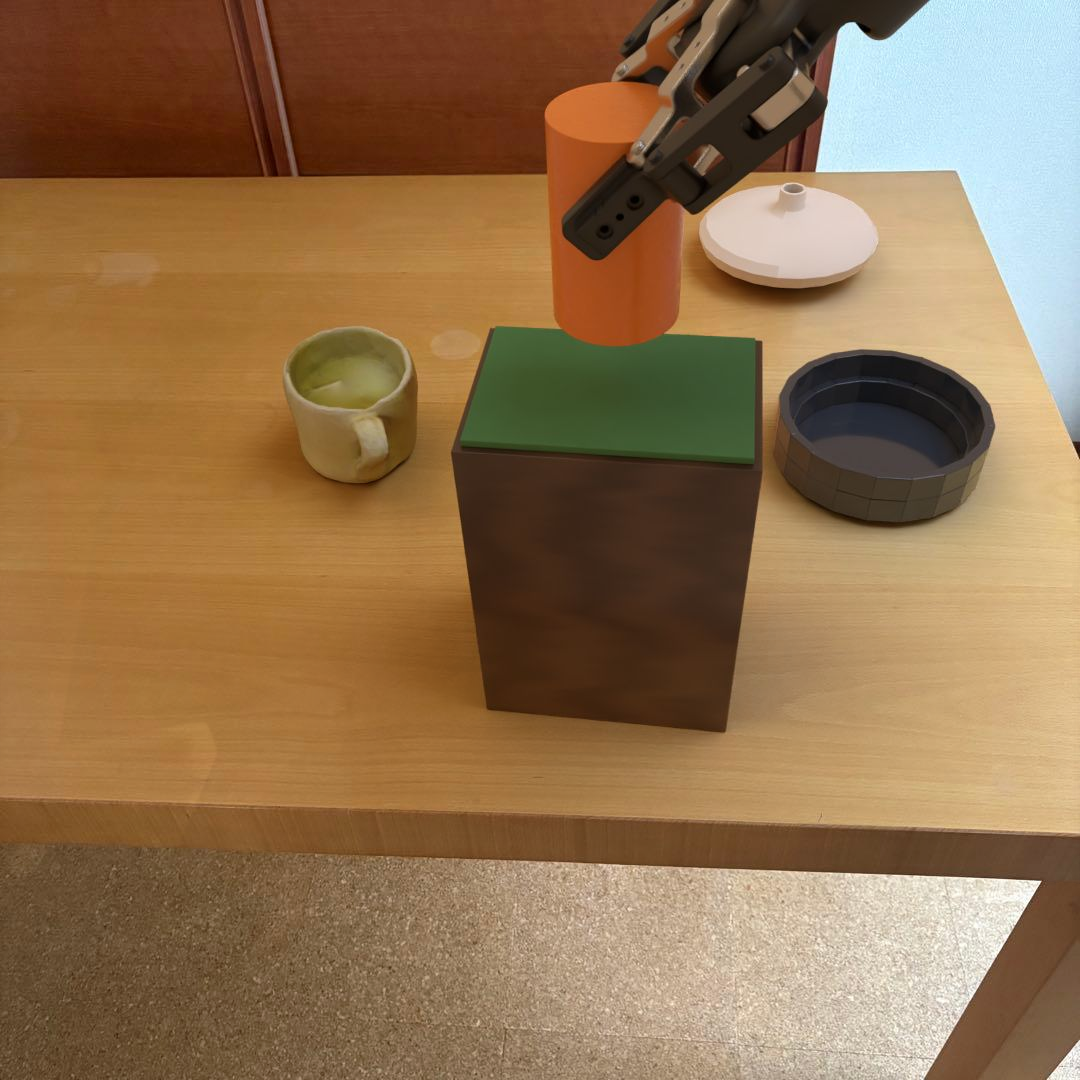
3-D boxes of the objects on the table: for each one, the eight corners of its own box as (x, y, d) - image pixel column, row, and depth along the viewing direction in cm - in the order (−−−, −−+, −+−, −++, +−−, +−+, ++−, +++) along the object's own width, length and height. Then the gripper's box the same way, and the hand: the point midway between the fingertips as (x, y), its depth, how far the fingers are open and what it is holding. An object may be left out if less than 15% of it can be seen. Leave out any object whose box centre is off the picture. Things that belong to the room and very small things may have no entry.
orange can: (682, 279, 48) (693, 81, 42) (675, 349, 44) (686, 143, 38) (562, 274, 49) (555, 80, 42) (545, 343, 45) (534, 141, 39)
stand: (729, 602, 67) (762, 340, 52) (725, 732, 60) (763, 471, 45) (514, 584, 68) (489, 327, 54) (486, 709, 62) (450, 451, 47)
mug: (274, 394, 81) (287, 300, 73) (403, 408, 84) (430, 319, 76) (271, 523, 74) (286, 433, 67) (412, 532, 77) (442, 448, 70)
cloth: (754, 344, 52) (755, 337, 52) (753, 465, 46) (754, 457, 45) (496, 332, 54) (495, 325, 54) (460, 446, 48) (459, 439, 47)
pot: (963, 403, 80) (978, 354, 76) (992, 535, 70) (1010, 485, 66) (771, 392, 81) (778, 344, 78) (773, 520, 72) (780, 471, 68)
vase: (768, 329, 88) (778, 254, 83) (663, 249, 97) (666, 177, 92) (910, 274, 93) (928, 200, 88) (796, 203, 102) (806, 132, 97)
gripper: (810, -283, 37) (503, 75, 46) (925, -199, 27) (504, 239, 36) (926, -122, 41) (622, 181, 50) (1065, 4, 31) (653, 357, 40)
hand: (574, 204), depth 43 cm, fingers closed on orange can, 5 cm apart
